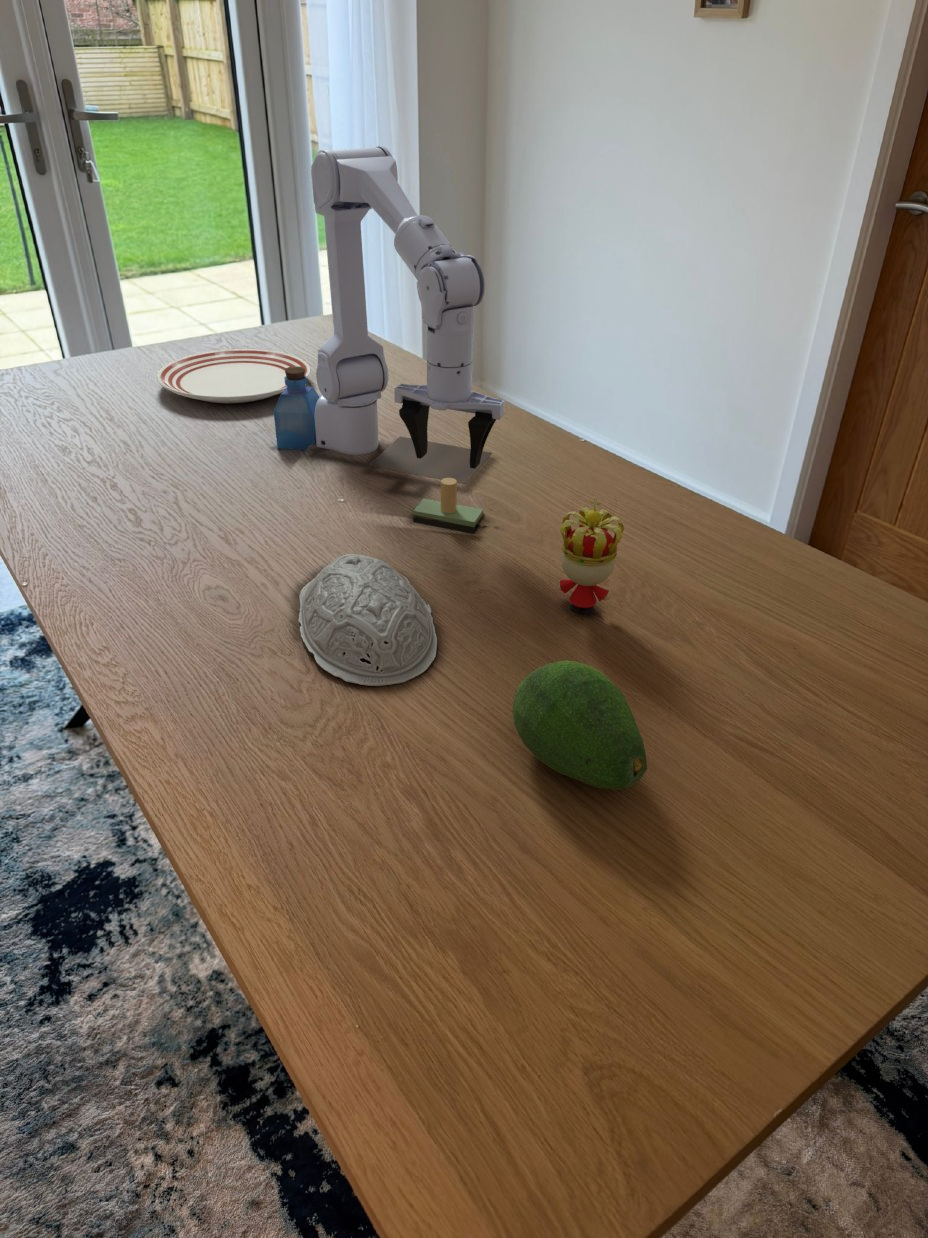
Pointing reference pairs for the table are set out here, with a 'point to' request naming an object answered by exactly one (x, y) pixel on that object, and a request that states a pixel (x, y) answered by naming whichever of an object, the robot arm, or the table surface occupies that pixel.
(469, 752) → the table surface
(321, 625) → the grey turtle shell
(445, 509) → the brush
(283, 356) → the dinner plate
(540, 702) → the fruit
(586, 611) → the toy
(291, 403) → the perfume bottle
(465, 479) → the tray
